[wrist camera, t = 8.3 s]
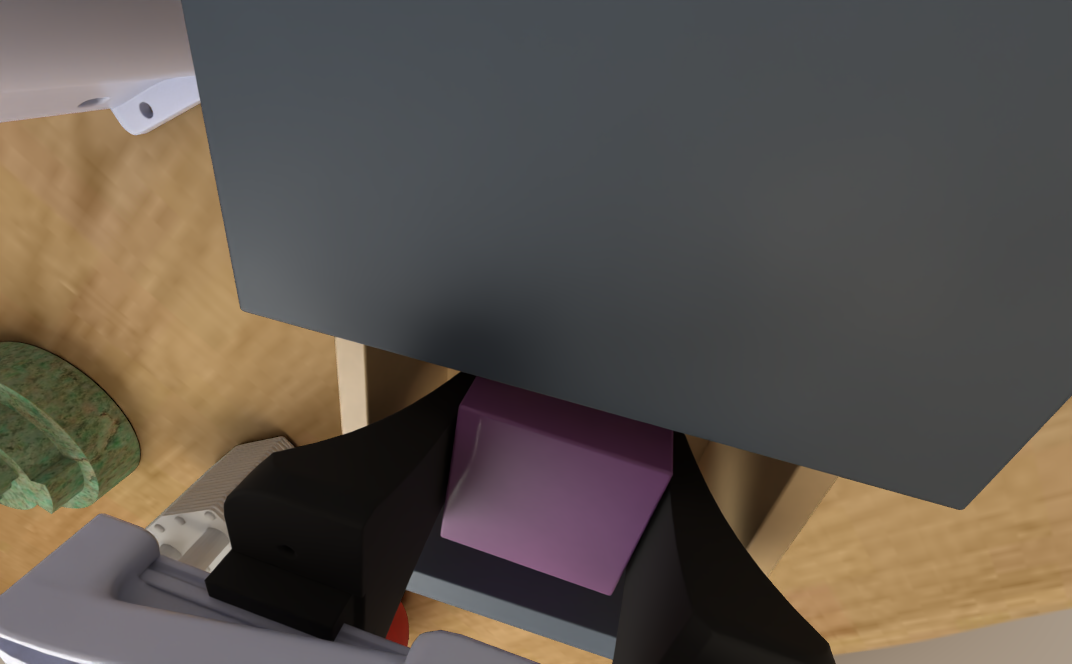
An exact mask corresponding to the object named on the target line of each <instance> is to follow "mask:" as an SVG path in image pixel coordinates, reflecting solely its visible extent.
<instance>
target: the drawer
mask: <svg viewBox="0 0 1072 664" xmlns="http://www.w3.org/2000/svg"><path fill="white" fill-rule="evenodd" d="M334 337H335V336H334ZM335 350H336V363H337V376H338V388H339V401H340V414H341V427H342V435H343V434H346V433H349V432H352V431H355V430H357V429H360V428H362V427H365V426H367V425H370V424H372V423H374V422H377V421H379V420H381V419H384V418H386V417H388V416H390V415H392V414H394V413H396V412H398V411H400V410H402V409H403V408H405V407H407V406H409V405H411V404H412V403H414V402H416V401H417V400H419V399H421V398H422V397H424V396H426V395H427V394H429V393H431V392H432V391H434V390H435V389H437V388H438V387H440V386H441V385H442V384H444V383H445V382H447V381H448V380H450V379H451V378H452V377H454V376H455V375H456V374H458V373H459V372H460V371H457V370H454V369H450V368H446V367H443V366H439V365H436V364H432V363H428V362H425V361H421V360H418V359H414V358H410V357H407V356H403V355H400V354H396V353H392V352H389V351H385V350H382V349H378V348H374V347H371V346H367V345H364V344H360V343H356V342H353V341H349V340H345V339H342V338H338V337H335ZM685 435H686V438H687V440H688V443H689V445H690V448H691V450H692V453H693V455H694V458H695V460H696V462H697V464H698V467H699V469H700V471H701V473H702V475H703V477H704V480H705V482H706V484H707V486H708V488H709V490H710V492H711V494H712V496H713V497H714V499H715V501H716V503H717V505H718V507H719V508H720V510H721V512H722V514H723V515H724V517H725V519H726V520H727V522H728V523H729V525H730V527H731V528H732V530H733V531H734V533H735V534H736V536H737V537H738V539H739V540H740V542H741V543H742V545H743V546H744V547H745V549H746V550H747V551H748V553H749V554H750V555H751V557H752V558H753V559H754V561H755V562H756V563H757V565H758V566H759V567H760V569H761V570H762V571H763V573H764V574H765V575H766V576H767V577H768V576H769V575H770V574H771V572H772V571H773V569H774V568H775V566H776V565H777V564H778V562H779V561H780V559H781V558H782V556H783V555H784V554H785V552H786V551H787V549H788V548H789V546H790V545H791V544H792V542H793V541H794V539H795V538H796V536H797V535H798V534H799V532H800V531H801V529H802V528H803V527H804V525H805V524H806V522H807V521H808V519H809V518H810V517H811V515H812V514H813V512H814V511H815V509H816V508H817V507H818V505H819V504H820V502H821V501H822V499H823V498H824V497H825V495H826V494H827V492H828V491H829V490H830V488H831V487H832V485H833V484H834V482H835V481H836V480H837V478H838V477H839V476H835V475H832V474H828V473H824V472H821V471H817V470H814V469H810V468H806V467H803V466H799V465H796V464H792V463H788V462H785V461H781V460H778V459H774V458H770V457H767V456H763V455H760V454H756V453H752V452H749V451H745V450H742V449H738V448H734V447H731V446H727V445H724V444H720V443H716V442H713V441H709V440H706V439H702V438H698V437H695V436H691V435H688V434H685ZM444 505H445V503H444ZM444 505H443V507H442V509H441V511H440V513H439V515H438V517H437V519H436V521H435V523H434V526H433V528H432V530H431V532H430V534H429V537H428V539H427V541H426V543H425V546H424V548H423V550H422V553H421V555H420V557H419V560H418V562H417V564H416V566H415V569H414V571H413V573H412V576H411V578H410V580H409V583H408V585H407V588H406V590H408V591H411V592H414V593H417V594H420V595H423V596H426V597H429V598H431V599H434V600H437V601H440V602H443V603H446V604H449V605H452V606H455V607H458V608H461V609H464V610H467V611H470V612H473V613H476V614H479V615H482V616H485V617H488V618H491V619H494V620H497V621H499V622H502V623H505V624H508V625H511V626H514V627H517V628H520V629H523V630H526V631H529V632H532V633H535V634H538V635H541V636H544V637H547V638H550V639H553V640H556V641H559V642H562V643H564V644H567V645H570V646H573V647H576V648H579V649H582V650H585V651H588V652H591V653H594V654H597V655H600V656H603V657H606V658H609V659H612V660H613V657H614V651H615V644H616V638H617V632H618V625H619V619H620V612H621V605H622V598H623V592H624V585H625V575H626V568H625V570H624V572H623V574H622V576H621V578H620V580H619V582H618V584H617V586H616V588H615V590H614V591H613V593H612V595H606V594H603V593H600V592H597V591H594V590H592V589H589V588H586V587H583V586H580V585H577V584H574V583H572V582H569V581H566V580H563V579H560V578H557V577H555V576H552V575H549V574H546V573H543V572H540V571H537V570H535V569H532V568H529V567H526V566H523V565H520V564H517V563H515V562H512V561H509V560H506V559H503V558H500V557H497V556H495V555H492V554H489V553H486V552H483V551H480V550H477V549H475V548H472V547H469V546H466V545H463V544H460V543H457V542H455V541H452V540H449V539H446V538H443V537H442V536H441V535H440V534H441V526H442V519H443V512H444Z"/></svg>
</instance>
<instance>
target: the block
mask: <svg viewBox="0 0 1072 664" xmlns="http://www.w3.org/2000/svg"><path fill="white" fill-rule="evenodd" d="M672 475H673V430H670V429H666V428H662V427H659V426H655V425H652V424H648V423H644V422H641V421H637V420H634V419H630V418H626V417H623V416H619V415H616V414H612V413H608V412H605V411H601V410H598V409H594V408H590V407H587V406H583V405H580V404H576V403H572V402H569V401H565V400H562V399H558V398H554V397H551V396H547V395H544V394H540V393H536V392H533V391H529V390H526V389H522V388H518V387H515V386H511V385H508V384H504V383H500V382H497V381H493V380H490V379H486V378H482V377H479V376H476V378H475V380H474V381H473V383H472V385H471V386H470V388H469V390H468V392H467V393H466V395H465V397H464V398H463V400H462V402H461V403H460V405H459V409H458V416H457V423H456V430H455V437H454V444H453V450H452V457H451V464H450V471H449V478H448V485H447V492H446V498H445V505H444V512H443V519H442V526H441V534H440V535H441V536H442V537H443V538H446V539H449V540H452V541H455V542H457V543H460V544H463V545H466V546H469V547H472V548H475V549H477V550H480V551H483V552H486V553H489V554H492V555H495V556H497V557H500V558H503V559H506V560H509V561H512V562H515V563H517V564H520V565H523V566H526V567H529V568H532V569H535V570H537V571H540V572H543V573H546V574H549V575H552V576H555V577H557V578H560V579H563V580H566V581H569V582H572V583H574V584H577V585H580V586H583V587H586V588H589V589H592V590H594V591H597V592H600V593H603V594H606V595H612V593H613V591H614V590H615V588H616V586H617V584H618V582H619V580H620V578H621V576H622V574H623V572H624V570H625V568H626V566H627V564H628V562H629V560H630V558H631V556H632V554H633V552H634V550H635V548H636V546H637V544H638V542H639V540H640V538H641V536H642V534H643V532H644V531H645V529H646V527H647V525H648V523H649V521H650V519H651V517H652V515H653V513H654V511H655V509H656V507H657V505H658V503H659V501H660V499H661V497H662V495H663V493H664V491H665V489H666V487H667V485H668V483H669V481H670V479H671V477H672Z"/></svg>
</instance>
